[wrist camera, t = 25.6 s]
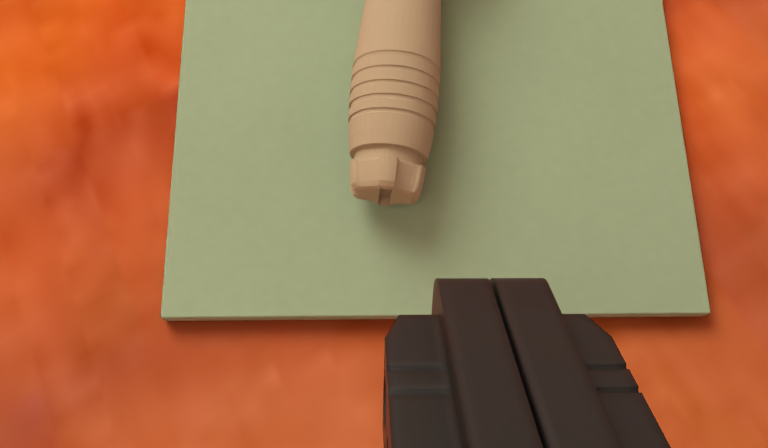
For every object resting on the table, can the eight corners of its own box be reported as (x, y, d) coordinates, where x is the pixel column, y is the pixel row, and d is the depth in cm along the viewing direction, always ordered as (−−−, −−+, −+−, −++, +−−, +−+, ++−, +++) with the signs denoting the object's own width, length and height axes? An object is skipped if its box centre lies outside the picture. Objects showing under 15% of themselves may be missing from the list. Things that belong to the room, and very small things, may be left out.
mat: (646, -54, 38) (653, -64, 37) (703, 316, 32) (711, 313, 31) (194, -61, 37) (190, -72, 36) (164, 321, 31) (159, 318, 30)
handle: (468, 188, 28) (487, -129, 32) (306, 172, 28) (345, -144, 32) (451, 219, 33) (470, -61, 37) (313, 205, 33) (346, -74, 37)
